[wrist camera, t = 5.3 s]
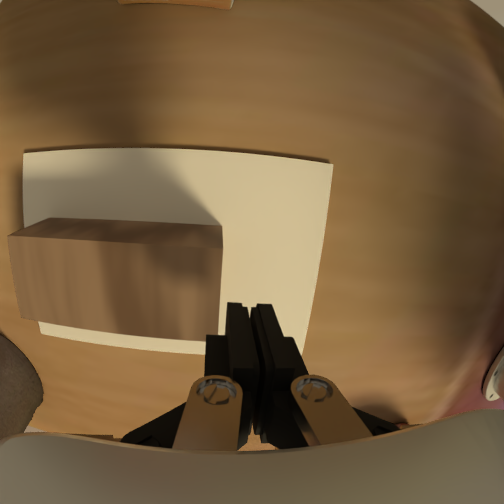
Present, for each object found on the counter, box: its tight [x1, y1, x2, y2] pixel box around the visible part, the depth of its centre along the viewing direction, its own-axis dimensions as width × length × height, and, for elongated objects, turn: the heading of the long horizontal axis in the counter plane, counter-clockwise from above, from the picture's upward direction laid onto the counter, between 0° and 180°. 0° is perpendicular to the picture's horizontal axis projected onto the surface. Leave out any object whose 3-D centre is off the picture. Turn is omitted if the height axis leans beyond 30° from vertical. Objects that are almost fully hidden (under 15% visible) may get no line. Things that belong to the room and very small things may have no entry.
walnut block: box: [8, 218, 223, 342], centre depth 16 cm, size 5×5×12 cm
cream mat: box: [23, 148, 333, 356], centre depth 19 cm, size 21×14×1 cm, turn 84°
